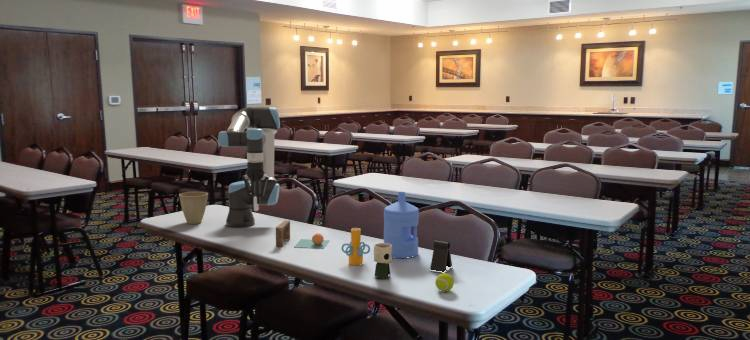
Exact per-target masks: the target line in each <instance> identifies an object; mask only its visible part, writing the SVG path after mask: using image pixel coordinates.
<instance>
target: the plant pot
mask: <svg viewBox="0 0 750 340" xmlns="http://www.w3.org/2000/svg"><path fill="white" fill-rule="evenodd" d="M208 195H209V193H208V192H204V191H187V192H182V193H179V194H178V196H179V201H180V207H181V209H182V213H183V217H184V218H185V221H186V224H188V225H197V224H201V223H202V221H203V219H204V215H205V212H206V207H207V204H208Z"/></svg>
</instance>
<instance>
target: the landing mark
mask: <svg viewBox="0 0 750 340" xmlns="http://www.w3.org/2000/svg"><path fill="white" fill-rule="evenodd" d="M329 241H330V240H327V239H324V240H323V243H322V244H320V245H315V244H314V243H313V242H312V239H308V238H307V239H304V238H303V239H299V241H298V242H297V243H296V244H295V245H294V248H295V249H296V248H299V249H320V250H322V249H325V247H326V246H327V245H326V244H329Z"/></svg>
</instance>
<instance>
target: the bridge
mask: <svg viewBox="0 0 750 340" xmlns="http://www.w3.org/2000/svg"><path fill="white" fill-rule="evenodd" d="M290 240H291V220H283V221H282V222H280V224H278V225H277V226H276V227H275V247H276V248H283V247H284V241H290Z"/></svg>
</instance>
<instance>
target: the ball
mask: <svg viewBox="0 0 750 340" xmlns="http://www.w3.org/2000/svg"><path fill="white" fill-rule="evenodd" d="M311 240H312V242H313V243H314V244H315V245H320V244H322V243H323V240H325V239H324V236H323V234H321V233H318V232H317V233H315V234H313V235H312V237H311Z"/></svg>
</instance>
